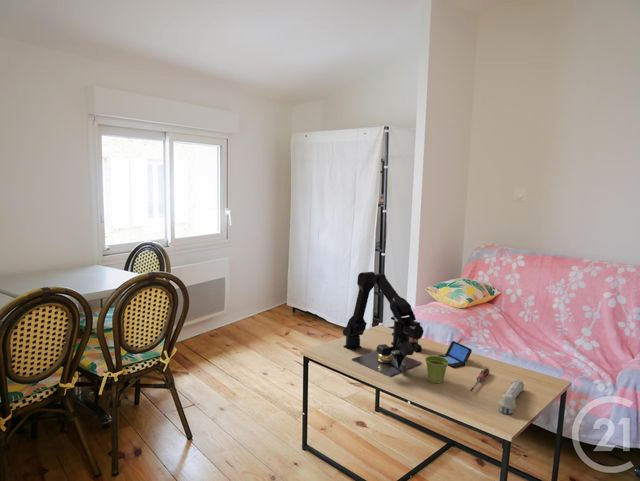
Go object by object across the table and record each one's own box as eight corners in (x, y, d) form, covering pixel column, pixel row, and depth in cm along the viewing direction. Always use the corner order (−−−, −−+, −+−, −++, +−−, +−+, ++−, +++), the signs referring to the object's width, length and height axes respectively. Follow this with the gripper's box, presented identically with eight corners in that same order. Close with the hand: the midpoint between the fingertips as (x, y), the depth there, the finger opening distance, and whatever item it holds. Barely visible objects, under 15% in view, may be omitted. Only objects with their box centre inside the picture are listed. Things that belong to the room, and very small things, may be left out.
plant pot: (448, 377, 183) (449, 357, 182) (446, 387, 174) (448, 366, 173) (425, 374, 186) (426, 354, 185) (422, 383, 177) (423, 362, 176)
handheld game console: (433, 358, 204) (434, 343, 203) (451, 355, 208) (452, 340, 207) (453, 369, 192) (454, 352, 191) (471, 365, 197) (472, 349, 196)
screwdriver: (474, 396, 168) (474, 388, 167) (466, 394, 169) (466, 386, 169) (490, 374, 188) (491, 367, 187) (483, 372, 190) (483, 365, 189)
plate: (351, 360, 199) (351, 358, 198) (383, 349, 213) (383, 348, 213) (389, 376, 182) (390, 375, 182) (421, 363, 197) (421, 362, 197)
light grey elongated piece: (526, 381, 173) (514, 396, 152) (524, 398, 173) (512, 415, 152) (512, 377, 176) (498, 392, 155) (510, 394, 176) (496, 411, 155)
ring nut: (374, 357, 199) (374, 350, 199) (388, 355, 203) (389, 347, 202) (396, 372, 184) (397, 363, 184) (412, 369, 188) (412, 361, 187)
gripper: (389, 340, 174) (387, 378, 176) (430, 336, 180) (427, 373, 182) (377, 331, 185) (374, 367, 186) (415, 328, 191) (413, 363, 193)
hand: (398, 368), depth 187 cm, fingers closed
